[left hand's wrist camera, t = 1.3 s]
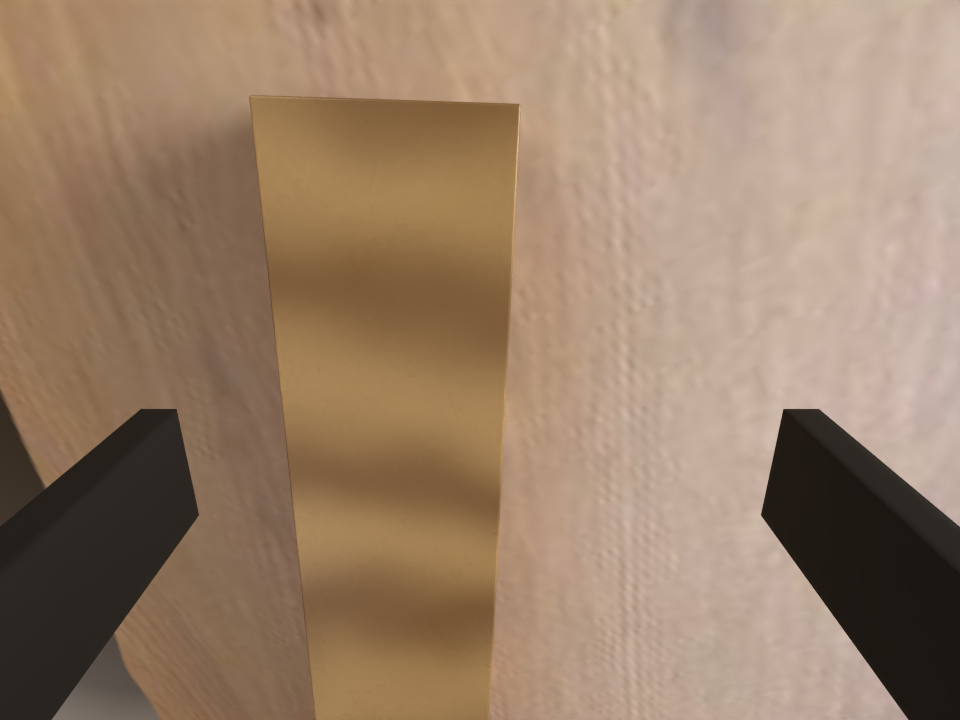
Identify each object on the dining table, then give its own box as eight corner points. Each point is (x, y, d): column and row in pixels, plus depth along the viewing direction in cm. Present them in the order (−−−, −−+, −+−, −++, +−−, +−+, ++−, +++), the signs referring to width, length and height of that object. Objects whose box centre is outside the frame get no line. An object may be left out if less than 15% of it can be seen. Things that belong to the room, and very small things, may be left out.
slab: (305, 101, 25) (248, 95, 19) (511, 108, 25) (521, 103, 19) (366, 925, 48) (349, 1043, 42) (473, 927, 49) (472, 1046, 42)
